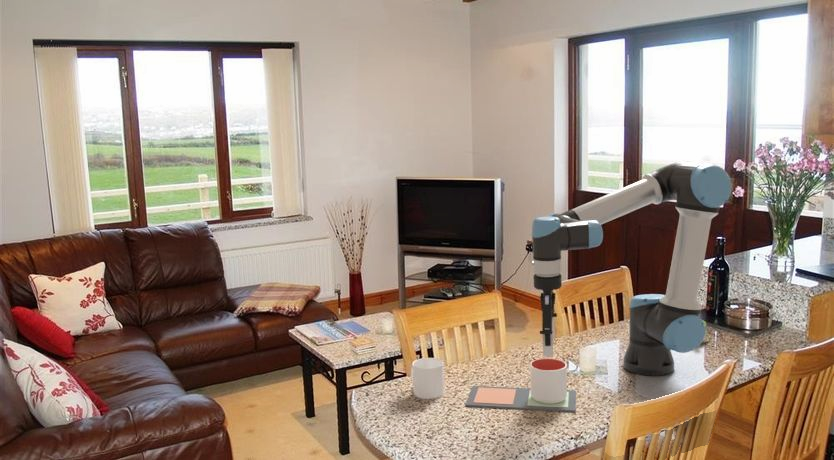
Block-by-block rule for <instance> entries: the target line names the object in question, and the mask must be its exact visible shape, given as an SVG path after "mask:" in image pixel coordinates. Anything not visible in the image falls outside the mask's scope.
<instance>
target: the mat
mask: <svg viewBox="0 0 834 460" xmlns="http://www.w3.org/2000/svg"><path fill="white" fill-rule="evenodd" d="M576 396H577V390H574V389H573V390H570V389H567V396H566V398H565V399H564V400H563V401H562V402H559V403H554V404H545V403H541V402H538V401H536V400H534V399H533V398H532V396H531V387H529V388H528V387H527V388H526V387H506V386H489V385H487V386H485V385H484V386H483V385H472V386H471V390H470V391H469V394H468V397H467V399H466V403H465V407H468V408H469V407H470V408H471V407H473V408H475V407H476V408H488V409H489V408H490V409H491V408H492V409H506V410H507V409H509V410H511V409H512V410H527V411H528V410H529V411H545V412H549V411H550V412H563V413H564V412H565V413H576V411H577V409H576V406H577V403H576V401H577V397H576Z"/></svg>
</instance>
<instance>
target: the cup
mask: <svg viewBox="0 0 834 460" xmlns="http://www.w3.org/2000/svg"><path fill="white" fill-rule="evenodd" d="M529 368H530V370H529V372H530V375H529V377H530V388H531V396H532V398H533V399H534V400H536V401H538V402H541V403H545V404H554V403H559V402H562V401H563V400H564V399H565V398H566V396H567V390H568V372H567V371H568V365H567V363H566V362H565V361H563V360H560V359H556V358H549V357H546V358H539V359H535V360H533V361H531V362H530V367H529Z"/></svg>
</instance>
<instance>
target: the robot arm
mask: <svg viewBox="0 0 834 460" xmlns="http://www.w3.org/2000/svg"><path fill="white" fill-rule="evenodd" d="M732 186H733V185H732V180H731V177H730V175H729V174H728V172H727V171H726V170H725V169H724V168H723V167H721V166H718V165H715V164H712V163H707V162H706V163H704V162H703V163H702V162H693V161H685V160H684V161H678V162H673V163H669V165H665V166H663V167H660V168H658V169H656V170H653V171H650V172H648V173H646V174H644V175H643V176H642V179H640V180H638V181H635V182H633V183H631V184H629V185H626V186H624V187H621V188H619V189H617V190H615V191H612V192H609V193H608V194H605V195H603V196H600V197H598V198H595V199H593V200H591V201H589V202H587V203H584V204H581V205H579V206H577V207H575V208H572V209H569V210H566V211H564V212H561V213H550V214H548V215H546V216H540V217H536V218H534V219H533V220H532V226H531V239H532V241H531V242H532V261H531V262H530V265H531V266H533V269H532V270H533V274H534V275H533V287H534V289H536V290H539V291H542V292H541V293H540V295H539V296H540V298H539V299H540V307H541V308H540V309H541V312H542V314H541V317H542V319H541V320H542V323H541V324H542V330H539V335H541V336H542V356H543V357H545V358H554V341H556V325H555V324H556V321H555V320H556V319H555V318H557V317H558V316H557V315H558V314H557V313H556V311H555V305H556V292H554V290H559V289H561V287H562V285H563V284H562V274H561V273H562V251H563V252H564V251H572V250H573V251H574V250H584V249H592V248H596V247H599V246H600V245H601V244H602V243H603V239H604V231H603V230H604V229H603V227H602V225H603V224H606V223H608V222H610V221H613V220H615V219H617V218H620V217H623V216H625V215H627V214H630V213H632V212H634V211H636V210H639V209H641V208H644V207H646V206H648V205H651V204H654V205H660V204H662V203H664V202H670V201H675V209H676V210H677V212H678V213H679V214H678V215H679V217H678V218H679V219H678V223H677V228H676V235H675V241H674V247H673V252H672V259H671V265H670V269H669V274H668V280H667V286H666V290H665V291H666V292H665V294H661V293H659V294H658V293H649V294H647V293H645V294H638V295H634V296H632V297H631V298H630V301H629V308H628V309H629V342H628V345H627V347H626V350H625V353H624V356H623V363H622V364H623V368H624V369H625V370H626V371H629V372H631V373H634V374H638V375H643V376H653V377H654V376H657V377H658V376H663V375H669V374H670V373H673V372H674V371H675V360H674V357H673V355H672V351H674V352H676V353H682V354H685V353H689V352H692V351H694V350H695V349H696V348H698V347H699V346H700V345H701V344H702V342H703V341H704V340H705V337H706V335H705V333H706V329H707V328H706V327H707V326H706V327H705V324H704V323H703V321H704V320H703V319H702V318H701V311H702V306H701V305H700V304H699V302H698V296H699V291H700V285H701V279H702V275H703V268H704V263H705V258H706V252H707V247H708V241H709V235H710V230H711V223H712V220H713V218H715V217H716V216H718V215H719V214H720V213H719V212H720V207H722V206H723V205H725V203H726V202H728V201H729V199H730V198H731V195H732V189H733V187H732ZM702 320H703V321H702Z"/></svg>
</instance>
